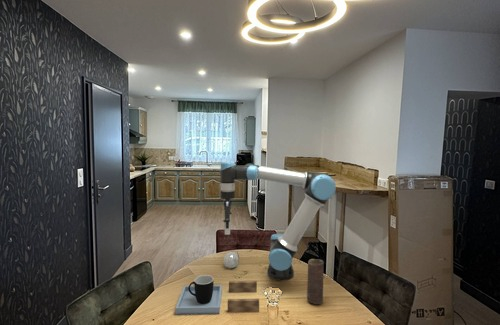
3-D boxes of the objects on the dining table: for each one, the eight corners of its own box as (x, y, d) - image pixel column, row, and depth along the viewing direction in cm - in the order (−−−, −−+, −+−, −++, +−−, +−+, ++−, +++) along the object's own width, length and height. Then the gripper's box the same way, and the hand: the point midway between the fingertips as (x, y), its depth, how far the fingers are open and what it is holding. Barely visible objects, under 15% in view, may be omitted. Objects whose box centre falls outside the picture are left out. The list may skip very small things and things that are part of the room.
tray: (222, 290, 138) (222, 285, 138) (219, 313, 119) (219, 307, 119) (184, 291, 137) (184, 285, 137) (175, 314, 118) (175, 308, 118)
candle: (319, 308, 124) (320, 265, 123) (304, 303, 128) (305, 261, 127) (324, 300, 130) (325, 259, 129) (310, 295, 134) (310, 256, 133)
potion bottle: (226, 273, 160) (232, 265, 175) (240, 264, 159) (244, 257, 174) (218, 260, 161) (224, 253, 176) (231, 251, 160) (236, 245, 175)
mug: (215, 295, 132) (215, 275, 131) (210, 306, 123) (210, 284, 123) (191, 294, 134) (191, 273, 133) (185, 304, 125) (185, 283, 124)
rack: (256, 290, 139) (256, 281, 138) (259, 311, 121) (259, 300, 121) (228, 291, 138) (228, 281, 138) (227, 312, 121) (227, 301, 120)
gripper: (221, 187, 156) (221, 223, 157) (219, 194, 131) (219, 238, 133) (234, 187, 157) (234, 223, 158) (234, 194, 132) (234, 237, 133)
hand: (227, 230), depth 145 cm, fingers open, 13 cm apart
